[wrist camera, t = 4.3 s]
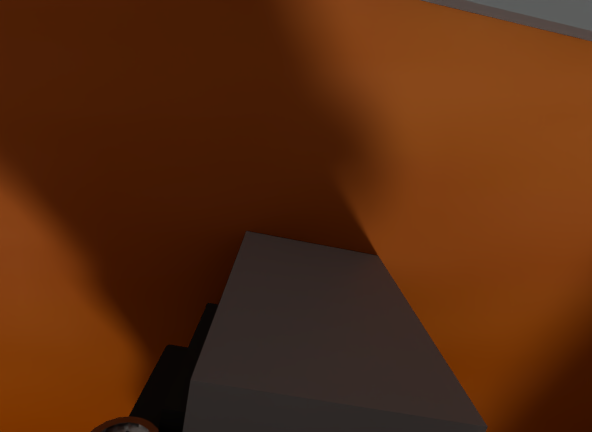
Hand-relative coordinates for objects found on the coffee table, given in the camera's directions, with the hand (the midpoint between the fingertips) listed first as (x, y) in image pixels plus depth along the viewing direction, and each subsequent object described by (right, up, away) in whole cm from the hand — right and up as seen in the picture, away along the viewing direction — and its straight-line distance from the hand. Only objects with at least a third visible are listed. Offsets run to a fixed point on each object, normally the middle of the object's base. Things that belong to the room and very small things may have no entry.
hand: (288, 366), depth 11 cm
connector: (0, -1, +1) cm, 1 cm away
